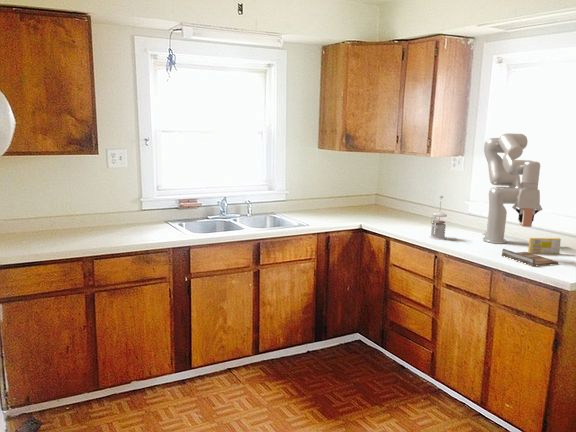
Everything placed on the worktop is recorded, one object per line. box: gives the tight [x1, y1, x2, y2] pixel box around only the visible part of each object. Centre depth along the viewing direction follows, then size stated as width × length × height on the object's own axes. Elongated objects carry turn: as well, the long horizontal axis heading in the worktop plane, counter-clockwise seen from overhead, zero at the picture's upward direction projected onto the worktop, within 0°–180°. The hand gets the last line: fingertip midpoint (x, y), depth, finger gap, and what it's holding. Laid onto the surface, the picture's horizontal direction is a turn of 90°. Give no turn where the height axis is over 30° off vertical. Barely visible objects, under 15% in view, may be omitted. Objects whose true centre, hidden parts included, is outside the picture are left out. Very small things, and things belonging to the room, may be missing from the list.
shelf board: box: [501, 251, 559, 267], centre depth 250 cm, size 20×16×1 cm
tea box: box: [519, 208, 533, 228], centre depth 254 cm, size 4×7×9 cm, turn 168°
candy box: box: [527, 237, 562, 255], centre depth 265 cm, size 16×2×8 cm, turn 93°
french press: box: [428, 195, 448, 241], centre depth 293 cm, size 10×12×25 cm
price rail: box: [501, 248, 535, 264], centre depth 247 cm, size 20×1×2 cm, turn 20°
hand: (525, 222), depth 254 cm, fingers closed on tea box, 4 cm apart
